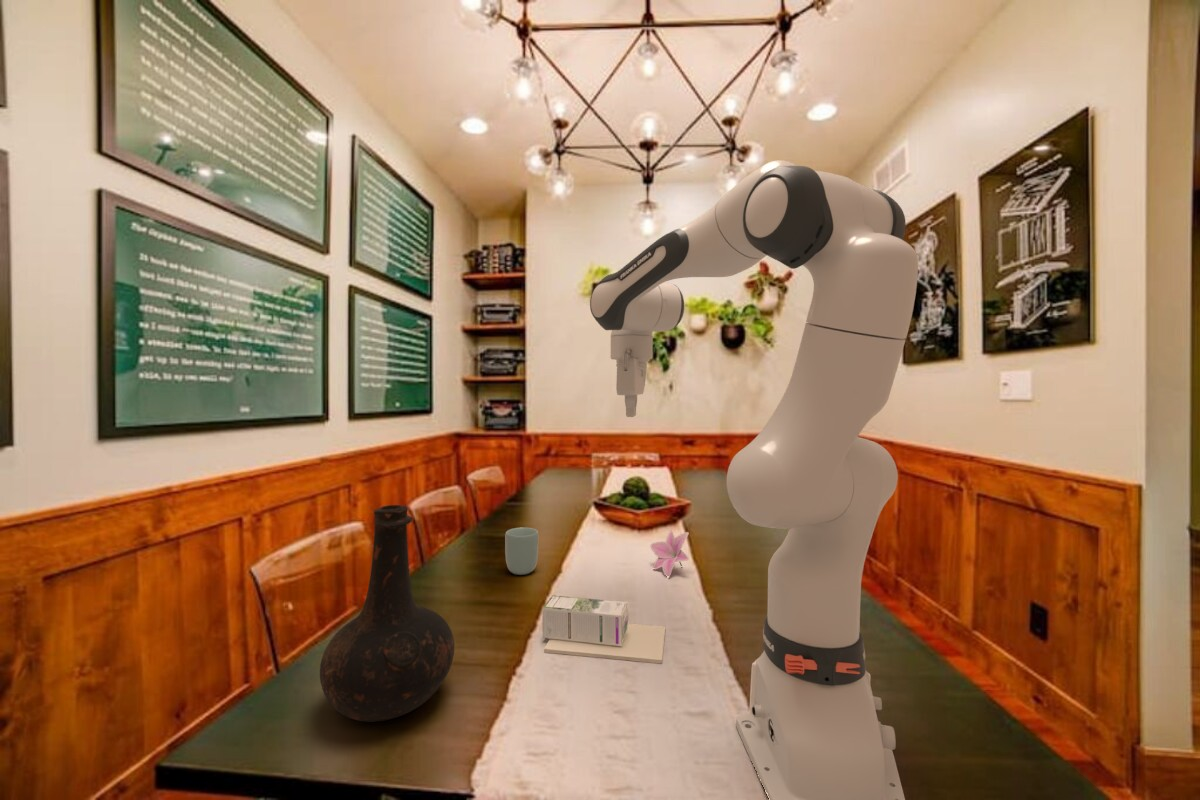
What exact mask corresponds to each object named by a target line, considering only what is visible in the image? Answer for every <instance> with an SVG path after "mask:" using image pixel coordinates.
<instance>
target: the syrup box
mask: <svg viewBox="0 0 1200 800" xmlns="http://www.w3.org/2000/svg"><path fill="white" fill-rule="evenodd" d="M628 609H629V608H628V602H627V601H618V600H607V599H606V600H605V599H596V598H585V597H576V596H565V595H564V596H563V595H551V597H550V598H549V600H548V601H547V602H546V603H545V605H544V606H543V608H542V615H541V616H542V619H541V620H542V623H541V624H542V625H541V627H542V629H541V630H542V638H543V639H548V640H549V639H558V640H567V641H576V642H585V643H595V644H604V645H613V646H622V644H623V641H624V638H625V635H626V632H627V627H628V624H629V611H628Z"/></svg>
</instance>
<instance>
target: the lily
mask: <svg viewBox="0 0 1200 800" xmlns="http://www.w3.org/2000/svg"><path fill="white" fill-rule="evenodd" d="M689 534H690V533H689V531H686V532H683V533H681V534H679V535H677V536H676V537H675V536H674V532H673V531H672V529H670V530H668V533H667V536H666V539H665V541H657V542H652V543H651V544H650V545H649V548H650V550H651V552H653V554H654V555H655V556H656V557H657V559H656V561H655V562H654V564H653V566H652V568H655V570H657V569H659V568H662V571H663V574H664V576H665V575H667V576H669V578H670V576H671V574H672V572H673V568H674V566H675V563H679V565H680V567H681V566H683V565H682V563H681V562H687V561H689V557H688V556H687V554H686V553H685V551H683V549H682V548H683V546H684V544H685V542H686V540H687V538H688V536H689Z"/></svg>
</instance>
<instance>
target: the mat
mask: <svg viewBox="0 0 1200 800" xmlns="http://www.w3.org/2000/svg"><path fill="white" fill-rule="evenodd" d="M665 637H666V626H663V625H652V624H651V625H650V624H649V625H648V624H640V623H639V624H638V623H628V627H627V632H626V635H625V638H624V641H623V644H622V646H613V645H604V644H595V643H585V642H576V641H567V640H558V639H549V638H548V641H547V643H546V645H545V647H544V648H543V652H544V653H545V654H546V653H547V654H548V653H549V654H555V655H556V654H558V655H567V656H578V657H588V658H600V659H608V660H609V659H610V660H621V661H631V662H638V663H639V662H643V663H653V664H660V663H661V664H663V658H664V657H663V656H664V646H665ZM661 664H660V665H661Z"/></svg>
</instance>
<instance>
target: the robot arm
mask: <svg viewBox="0 0 1200 800" xmlns="http://www.w3.org/2000/svg"><path fill="white" fill-rule="evenodd" d="M906 222H907V221H906V216H905V214H904V211H903V209H902V207H901V205H899V203H898V202H897V201H896V200H895V199H894V198H892V197H891V196H890V195H888V194H887V193H885V192H883V191H881V190H878V189H873V188H869V187H867V186H866V185H863V184H861V183H859V182H857V181H854V180H852V179H851V178H850V177H847V176H845V175H841V174H837V173H832V172H828V171H822V170H815V169H813V168H810V167H808V166H804V165H797V164H795V163H793V162H791V161H787V160H783V159H782V160H781V159H778V160H771V161H769V162H767V163H765V164H763V165H761V166H760V167H758V168H757V169H755V170H753V171H752V172H751V173H749V174H748V175H746V176H745V177H744V178H743V179H742V180H740V181H739V182H738V183H737V184H736V185H734V186H733V187H732V188H731V189H730V190H729V191H728V192H726V193H725V194H724V195H723V196H722V197H721V199H719V200H718V201H717V202H716V203H715V204H714V205H713V206H711V207H710V208H709V209H708V210H706V211H705V212H704V213H702V214H701V215H700V216H698V217H697V218H695V219H693V220H692V221H690V222H688V223H687V224H685V225H682V226H681V227H678V228H677V229H674V230H672V231H670V232H668V233H666V234H664V235H663V236H661V237H660V238H658V239H657V240H655V241H654V242H653V243H652V244H650V245H648V247H646V248H645V249H644V250H642V251H641V253H639V254H638V255H637V256H635V257H634V258H633V259H632V260H630V261H629V262H628V263H626V264H625V265H624V266H623V267H622V268H620V269H619V270H618V271H616V272H614V273H610V274H607V275H605V276H604V277H603V278H601V279H600V280H599V282H597V284H596V285H595V286H594V287H593V290H592V292H591V295H590V300H589V301H590V302H589V307H590V312H591V315H592V317H593V318H594V320H595V321H596V322H597V323H598V325H599V326H600V327H601V328H603V330H605V331H611V332H610V360H614V361H615V360H616V363H615V365H616V383H615V384H616V388H615V389H616V394H617V396H624V404H625V416H626V418H634V417H635V416H636V415H637V403H638V396H639V395H643V394H644V392H645V386H646V377H647V368H648V367H647V365H648V362H650V360H653V355H654V354H653V350H654V349H653V344H654V342H653V339H654V338H653V332H662V333H663V332H668V331H669V332H670V331H672V330H674V329H675V328H676V327H677V326H678V325H679V324H680V323H681V321H682V319H683V317H684V314H685V299H684V296H683V293H682V291H681V290H680V287H678V286H677V285H676V284H672V283H670V282H668V281H672V280H676V279H678V280H679V279H684V278H686V279H687V278H727V277H731V276H734V275H735V276H736V275H738V274H740V273H742V272H744V271H746V270H748V269H750V268H752V267H753V266H755V265H756V264H758V263H759V262H761V261H762V260H763V259H764V258H765V257H767V256H768V257H769V258H771V259H773V260H775V261H777V262H779V263H781V264H783V265H784V266H786V267H788V268H789V269H791V270H792V269H793V270H795V269H798V268H800V267H802V266H803V267H804V268H805V269H807V270H808V272H809V274H810V275H811V277H812V281H813V293H812V298H811V301H810V304H809V309H808V313H807V316H806V321H805V324H804V328H803V333H802V335H801V341H800V342H799V343H800V344H799V349H798V351H797V355H796V359H795V362H794V366H793V368H792V369H793V370H792V373H791V376H790V379H789V382H788V385H787V386H786V390H785V392H784V393H783V395H782V398H781V399H780V401H779V403H778V405H777V406H776V407H775V409H774V411H773V413H772V415H771V416H770V417H769V419H768V421H767V423H766V424H765V425H764V426H763V428H762V429H761V431H760V432H759V433H758V434H757V436H756V437H755V438H754V439H753V440H751V441H750V442H749V443H748V444H747V445H746V446H745V447H743V448H742V449H741V450H739V451H738V452H737V453H736V454H735V455H734V456H733V458H732V459H731V461H730V464H729V465H728V468H727V474H726V491H727V494H728V498H729V500H730V503H731V505H732V507H733V508H734V510H735V512H736V513H737V514H738V515H739V517H741V518H742V519H743V520H744V521H745V522H748V523H749V524H751V525H753V526H756V527H761V528H762V527H764V528H772V529H781V530H783V529H785V530H788V532H787V534H786V537H785V538H784V540H783V542H782V543H781V545H780V546H779V548H777V550H776V551H775V552H774V553H773V554H772V557H771V558H770V560H769V564H768V567H767V568H768V569H767V615H766V617H765V618H764V621H763V628H762V639H763V652H762V653H761V654H760V656H759V657H758V658H757V659H755V660H754V662H752V663H751V664H752V665H751V671H750V673H751V675H750V692H749V694H750V695H749V710H746V711H743V712H741V713H739V714H738V715H737V716H736V717H735V718H736V719H735V728H736V730H737V731H738V733H739V737H740V738H741V740H742V743H743V746H744V748H745V749H746V752H747V755H748V757H749V759H750V761H752V762H751V764H752V763H753V764H752V767H753V768H754V767H755V769H754V771H755V770H756V771H757V773H758V775H759V778H760V779H761V782H762V784H763V786H764V788H765V790H766V792H767V793H768V796H769V798H770V800H906V798H905V795H904V789H903V787H902V783H901V779H900V775H899V771H898V766H897V763H896V759H895V755H894V752H893V750H895V749H896V747H897V746H896V745H897V744H896V743H897V742H896V732H895V728H894V727H893V726H891V725H886V724H882V722H881V721H879V719H878V716H877V712H876V711H877V710H878V711H881V710H882V709H883V702H882V698H881V697H878V696H875V695H874V694H873V691H872V687H871V686H872V685H871V673H870V672H868V670H866V668H867V667H866V650H865V646H864V639H863V635H862V633H861V631H860V624H861V623H860V618H861V598H862V597H861V596H862V595H861V593H862V592H861V591H862V590H861V589H862V578H863V573H864V565H865V561H866V558H867V554H868V551H869V546H870V544H871V540H872V537H873V535H874V534H873V533H874V531H875V528H876V525H877V522H878V519H879V517H880V515H881V512H882V511H883V508H884V506H886V504H887V502H888V501H889V500H890V499H891V498H892V496H893V495H894V493H895V491H896V489H897V485H898V479H899V476H898V469H897V464H896V462H895V460H894V458H893V456H892V455H891V453H890V452H889V451H888V450H887V449H886V448H885V447H883V446H882V445H881V444H879V443H878V442H876V441H872V440H870V439H867V438H864V437H859V435H860V434H861V433H862V431H863V429H864V428H865V427H866V426H867V424H868V423H869V422H870V421H871V420H872V419H873V417H875V416H876V415H877V414H879V413H880V412H881V411H882V409H884V407H885V406H886V404H887V402H888V400H889V398H890V395H891V390H892V387H893V385H894V382H895V381H894V380H895V377H896V373H897V371H898V368H899V363H900V360H901V357H902V353H903V350H904V346H905V343H906V340H907V336H908V332H909V328H910V326H911V321H912V316H913V312H914V306H915V300H916V294H917V286H918V275H919V274H918V273H919V259H918V258H919V257H918V255H917V252H916V250H915V249H914V248H913V247H912V245H910V243H908V242H907V241H905V240H904V237H905V233H906V228H907V227H906V226H907V225H906V224H907V223H906ZM756 771H755V772H756ZM757 773H756V774H757ZM758 775H757V776H758ZM759 778H758V779H759ZM761 782H760V783H761Z"/></svg>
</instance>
